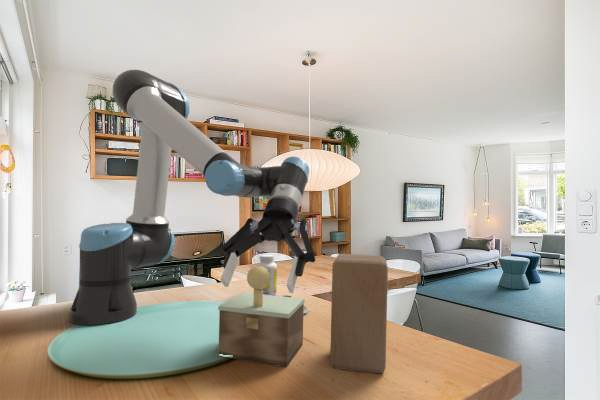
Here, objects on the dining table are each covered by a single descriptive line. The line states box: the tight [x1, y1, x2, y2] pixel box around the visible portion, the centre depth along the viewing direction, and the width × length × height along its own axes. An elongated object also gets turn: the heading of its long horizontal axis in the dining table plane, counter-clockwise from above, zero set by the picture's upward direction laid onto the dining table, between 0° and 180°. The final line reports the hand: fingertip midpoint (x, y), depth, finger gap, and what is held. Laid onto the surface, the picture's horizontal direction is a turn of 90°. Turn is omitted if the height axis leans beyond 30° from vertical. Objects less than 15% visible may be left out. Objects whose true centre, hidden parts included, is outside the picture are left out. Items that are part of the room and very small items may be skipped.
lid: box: [217, 265, 306, 318], centre depth 73 cm, size 14×11×9 cm
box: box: [218, 302, 305, 368], centre depth 73 cm, size 14×11×9 cm
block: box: [329, 253, 389, 374], centre depth 70 cm, size 10×10×20 cm
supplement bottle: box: [256, 254, 278, 296], centre depth 117 cm, size 7×7×13 cm
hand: (256, 286), depth 69 cm, fingers open, 13 cm apart
